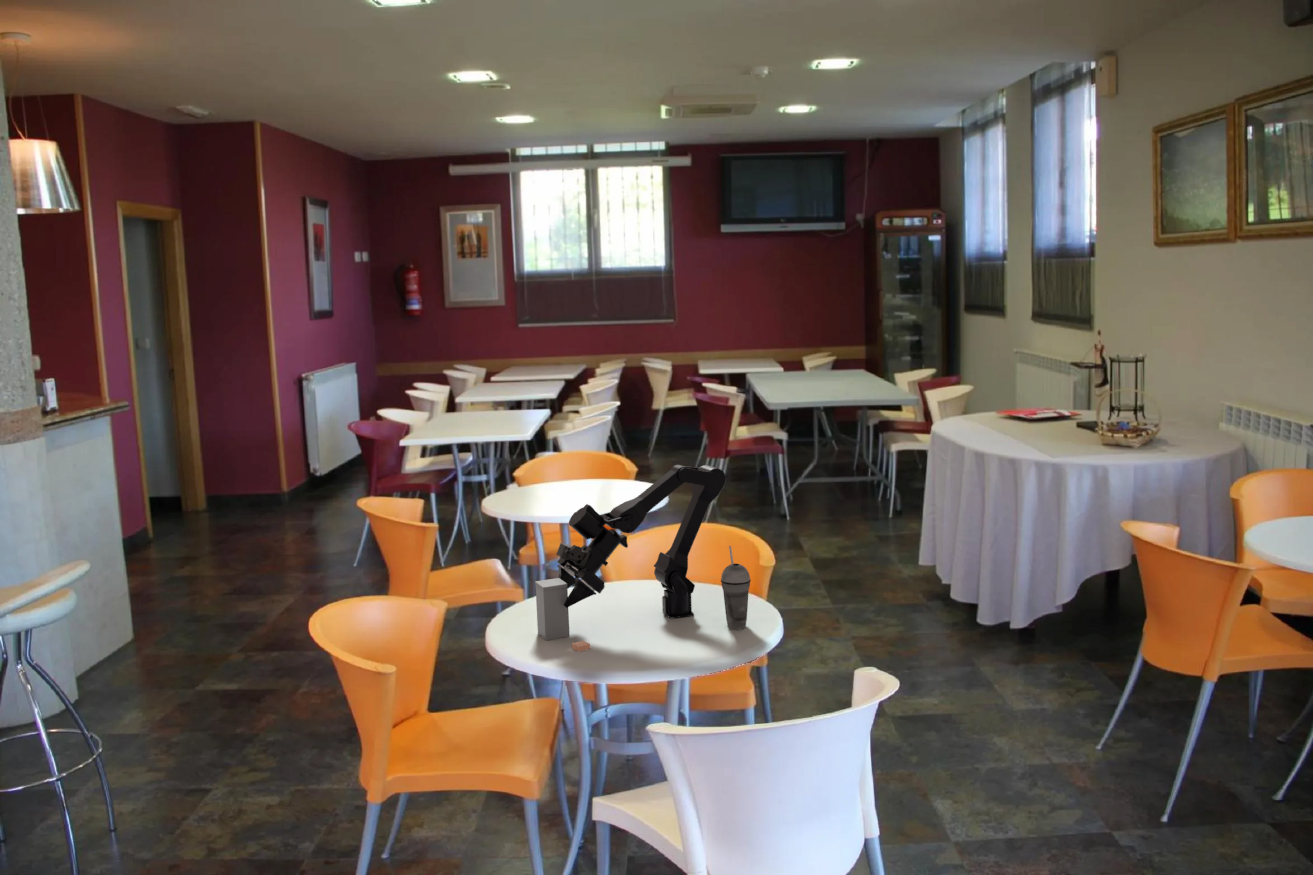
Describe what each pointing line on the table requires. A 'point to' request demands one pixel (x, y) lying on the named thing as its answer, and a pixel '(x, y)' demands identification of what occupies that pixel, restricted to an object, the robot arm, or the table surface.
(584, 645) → the terracotta block
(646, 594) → the table surface
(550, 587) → the smooth gray cuboid
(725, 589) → the beverage cup
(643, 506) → the robot arm
